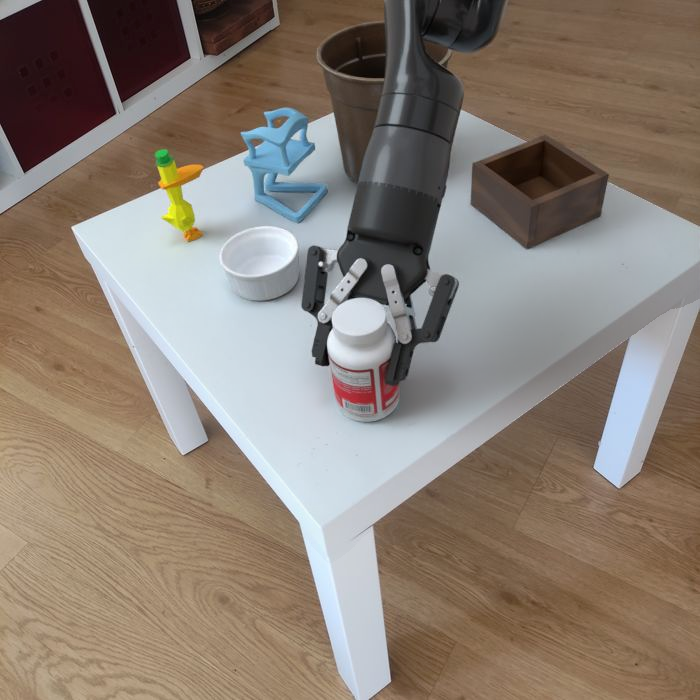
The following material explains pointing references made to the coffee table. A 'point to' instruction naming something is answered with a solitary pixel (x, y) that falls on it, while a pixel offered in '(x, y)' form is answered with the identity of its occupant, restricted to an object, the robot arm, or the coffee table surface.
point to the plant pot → (359, 84)
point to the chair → (281, 161)
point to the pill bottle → (362, 360)
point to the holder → (538, 190)
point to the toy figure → (178, 193)
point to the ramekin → (261, 262)
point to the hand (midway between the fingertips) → (356, 374)
